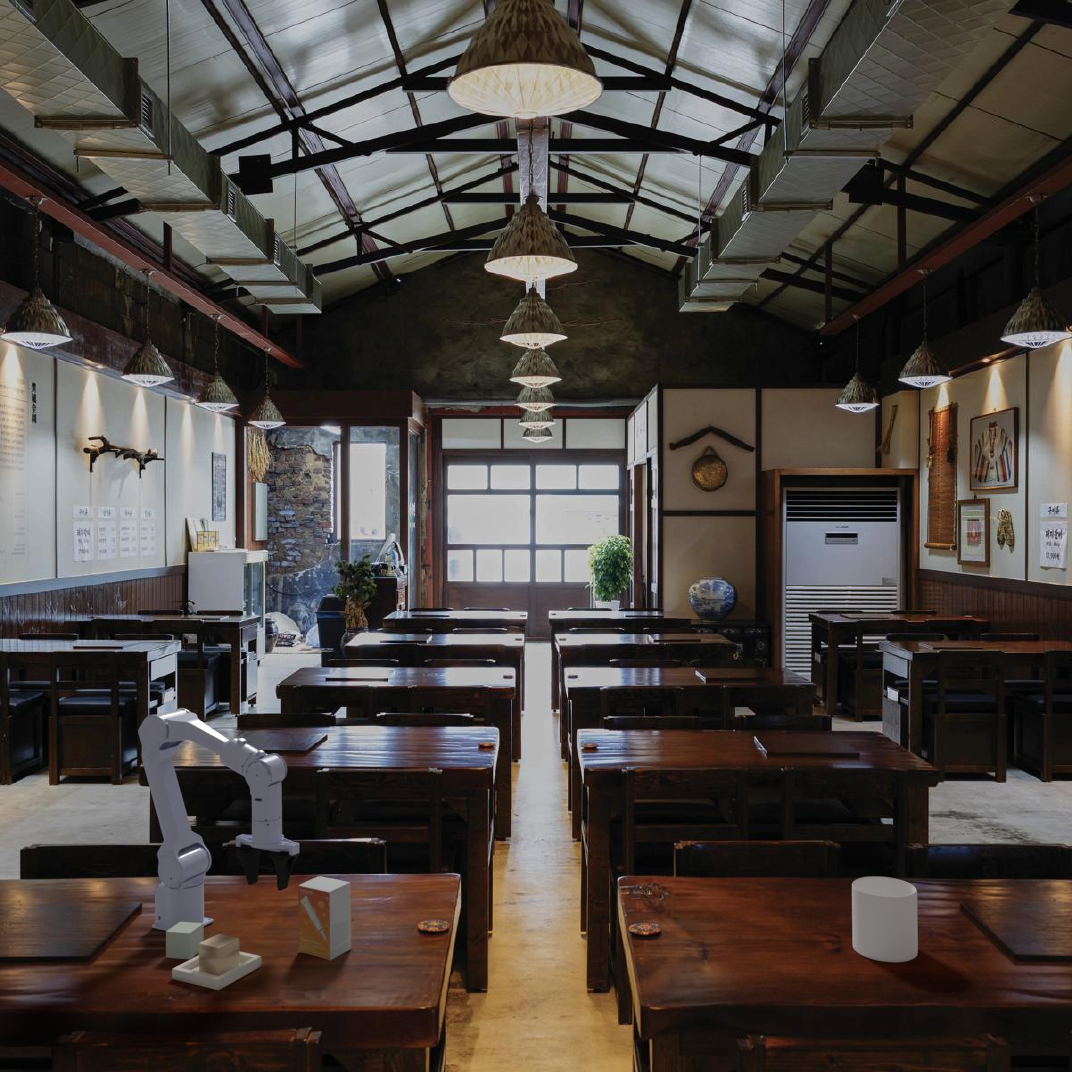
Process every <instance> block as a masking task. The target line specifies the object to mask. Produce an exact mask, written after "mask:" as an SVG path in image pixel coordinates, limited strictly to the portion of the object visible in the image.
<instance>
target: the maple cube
mask: <svg viewBox="0 0 1072 1072" xmlns="http://www.w3.org/2000/svg"><path fill="white" fill-rule="evenodd" d="M239 951H240V938H239V937H235V936H231V935H227V934H223V933H217V934H216V935H214V936H213V935H212V936H211V937H209V938H207V939H204V941H203V942H200V943H199V953H198V955H199V971H202V972H206V973H210V974H213V975H217V976H220V975H222V974H224V973H226V972H228V971H230V970H231V969H233V968H235V967H237V966H239V965H240V964H239Z"/></svg>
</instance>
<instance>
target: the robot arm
mask: <svg viewBox="0 0 1072 1072" xmlns="http://www.w3.org/2000/svg"><path fill="white" fill-rule="evenodd" d="M137 732H138V736H139V740H140V744H141V761H142V764H143V768H144V771H145V774H146V778H147V783H148V785H149V789H150V793H151V797H152V800H153V804H154V808H155V811H156V815H157V820H158V822H159V827H160V831H161V834H162V838H163V842H162V844H161V846H160V847H159V849H158V850H157V853H156V856H157V859H158V867H157V873H158V878H159V879H160V882H161V883H159V884H158V886H157V888H156V891H155V895H154V924H152V925H151V928H152V929H156V930H162V931H164V932H166V931H167V930H169V929H170V928H172V927H173V926H175V925H176V924H177V923H179V922H193V923H204V927H205V926H208V925H210V924H211V923H213V922H214V920H215V919H214V918H210V917H205V892H204V891H205V885H204V884H205V881H204V879H206V875H207V874H206V873H207V872H208V871H209V869H210V868H211V866H212V855H211V853H210V851H209V850H210V849H208V848H207V846H206V845H205V843H204V841H203V837H202V836H201V835H200V834H197V832H194V831H192V827H191V824H190V821H189V820H190V819H189V818H188V813H187V810H186V806H185V803H184V799H183V796H182V795H183V794H182V792H181V788H180V785H179V781H178V777H177V773H176V769H175V766H174V763H173V759H172V757H173V756H174V754H175V753H176V751H177V749H178V747H180V746H181V745H182V743H184V742H185V741H190V742H192V743H195V744H196V745H198V746H201V747H203V748H204V749H207V750H209V751H210V752H213V753H214V754H217V755H218V756H219V760H220V763H221V764H222V765H224V766H226V767H228V768H229V769H231V770H232V771H234V772H236V773H237V774H239V775H241V776H243V777H244V778H245V779H244V780H245V782H246V783H247V785H248V787H249V791H250V792H249V794H250V795H251V822H252V823H251V834H245V833H242V834H239V835H237V836H236V837H235V846H236V847H239V849H237V850H236V851H235V856H236V857H237V859H238V860H239V862H240V864H241V866H242V868H243V871H244V874H245V879H246V881H247V885H249V886H252V885H254V884H256V883H258V881H259V873H260V872H259V870H260V869H259V867H260V857H261V854H262V853H261V852H262V850H264V851H265V850H266V851H270V852H276V853H277V852H278V854H276V855H274V856H272V857H271V858H272V861H273V865H274V868H275V873H276V885H277V886H276V887H277V891H280V892H282V891H283V890H286V889H288V886H289V882H290V877H291V874H292V870H293V868H294V865H296V864H295V863H296V862H297V859H298V858H299V856H300V843H299V842H295V841H293V840H290V839H287V838H285V835H284V834H283V813H282V812H283V803H282V801H283V800H282V791H283V790H282V781H283V780H284V779H285V778H286V777H287V773H288V766H287V762H286V760H285V759H284V758H283V757H282V756H280V755H279V753H270V754H267V753H266V752H265V751H264V750H262V749H260V750H259V749H257V748H256V747H254V746H252V745H251V744H249V743H247V739H246V738H243V737H240V738H232V739H228V738H227V737H225V736H224V735H223V734H222V733H219V732H218V731H217V730H215V729H213V728H212V727H210V726H209V725H208V724H207V723H205V722H203V721H201V719H199V718H198V715H197V714H196V713H195V712H191V711H190V710H189V709H187V708H184V707H179V708H176V709H175V710H174V709H173V710H170V711H166V712H162V713H157V714H149V715H148V716H146V717H145V718H144V720H142V722H141V725H140V726H139V728H138V729H137Z"/></svg>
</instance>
